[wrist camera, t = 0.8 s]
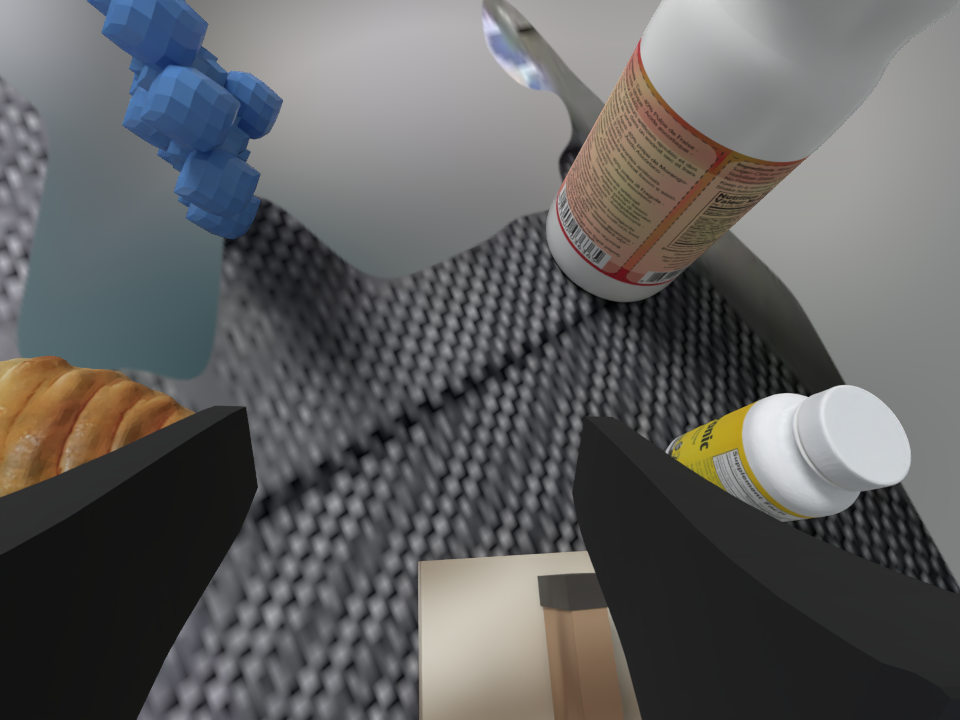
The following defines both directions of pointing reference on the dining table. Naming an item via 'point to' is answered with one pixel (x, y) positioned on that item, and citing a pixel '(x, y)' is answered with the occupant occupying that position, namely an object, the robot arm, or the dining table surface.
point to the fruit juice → (715, 127)
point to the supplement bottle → (800, 451)
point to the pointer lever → (579, 648)
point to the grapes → (192, 109)
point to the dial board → (494, 638)
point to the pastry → (70, 417)
